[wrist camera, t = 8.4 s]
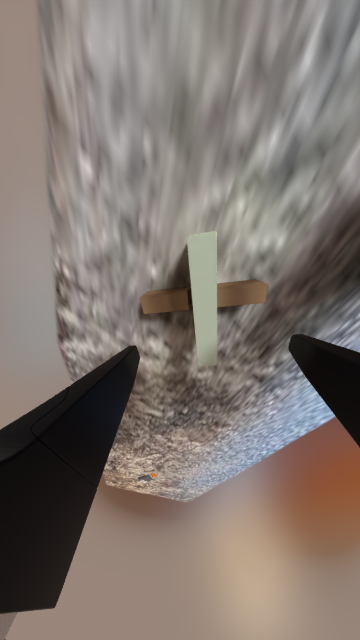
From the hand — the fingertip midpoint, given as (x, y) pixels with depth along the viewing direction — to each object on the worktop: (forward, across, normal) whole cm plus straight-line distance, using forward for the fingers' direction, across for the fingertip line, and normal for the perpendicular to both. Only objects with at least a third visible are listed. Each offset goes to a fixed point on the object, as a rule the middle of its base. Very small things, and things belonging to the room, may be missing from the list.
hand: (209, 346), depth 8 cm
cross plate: (+11, 0, 0) cm, 11 cm away
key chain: (+12, +22, +68) cm, 72 cm away
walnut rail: (+11, 0, 0) cm, 11 cm away
